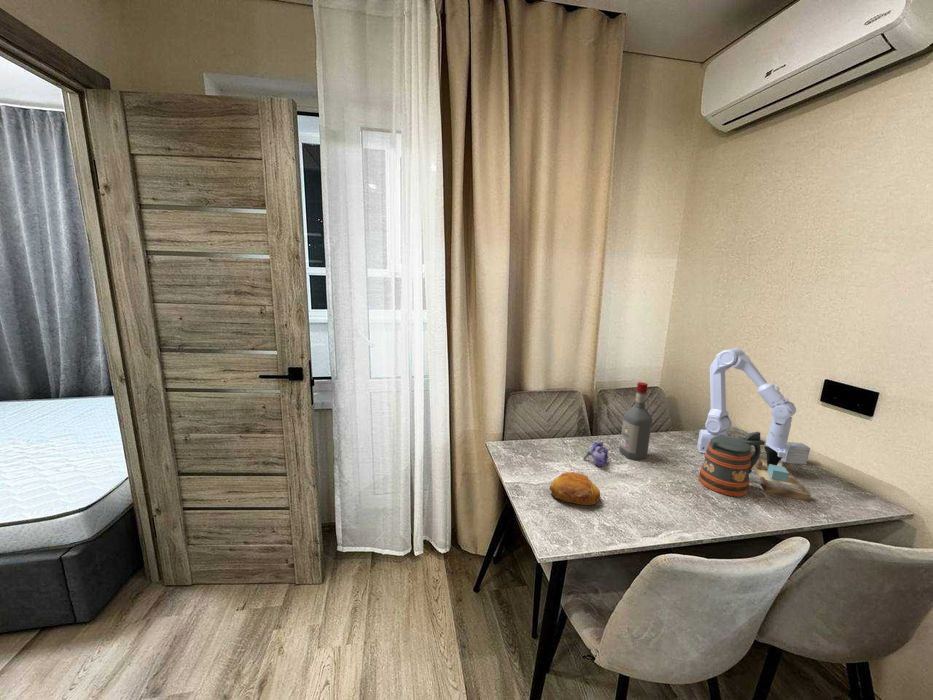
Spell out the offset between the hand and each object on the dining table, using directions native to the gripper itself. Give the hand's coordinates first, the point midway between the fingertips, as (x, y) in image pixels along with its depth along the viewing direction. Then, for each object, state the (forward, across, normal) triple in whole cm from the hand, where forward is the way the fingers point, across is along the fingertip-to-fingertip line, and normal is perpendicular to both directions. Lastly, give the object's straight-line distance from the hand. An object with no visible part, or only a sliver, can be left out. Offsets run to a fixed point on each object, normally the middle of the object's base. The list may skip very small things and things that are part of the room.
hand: (771, 467), depth 145 cm
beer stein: (+2, -18, +17) cm, 25 cm away
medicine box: (+2, +12, -10) cm, 16 cm away
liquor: (+3, -9, +48) cm, 49 cm away
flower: (+3, -24, +61) cm, 65 cm away
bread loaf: (+3, -49, +65) cm, 82 cm away
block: (+1, -7, 0) cm, 7 cm away
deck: (+2, -5, 0) cm, 5 cm away
